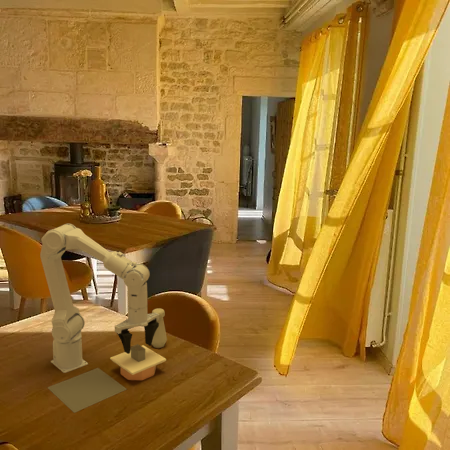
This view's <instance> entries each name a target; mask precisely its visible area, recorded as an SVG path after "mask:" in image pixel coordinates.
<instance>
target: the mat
mask: <svg viewBox="0 0 450 450" xmlns="http://www.w3.org/2000/svg"><path fill="white" fill-rule="evenodd" d="M46 388H47V389H48V390H49V391H50V392H51V393H52V394H53V395H54V396H56V397H57V398H58V400H60V401H61V402H62V403H63V404H64V405H65V406H66V407H67V408H68V409H70V411H71V412H72V413H74V414H75V413H77V412H79V411H82V410H83V409H84V410H85V409H87V408H89V407H91V406H93V405H96V404H97V403H100V402H102V401H105V400H106V399H108V398H111V397H113V396H115V395H117V394H120V393H121V392H124V391H127V390H128V389H127V388H126V387H125V386H124V385H122V384H120V382H118V381H117V380H115V379H114V378H113V377H112V376H110V375H109V374H107V372H105V371H103V370H102V369H100V367H97V368H93V369H91V370H89V371H86V372H83V373H80V374H78V375H76V376H73V377H70V378H68V379H66V380H65V379H64V380H63V381H60V382H57V383H54V384H52V385H49V386H48V387H46Z"/></svg>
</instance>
